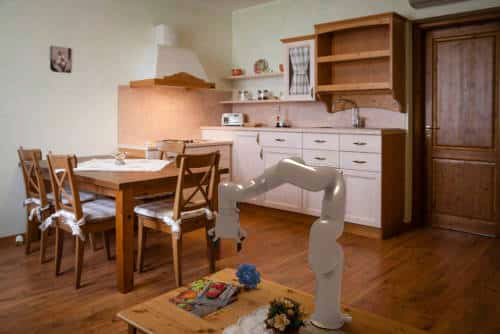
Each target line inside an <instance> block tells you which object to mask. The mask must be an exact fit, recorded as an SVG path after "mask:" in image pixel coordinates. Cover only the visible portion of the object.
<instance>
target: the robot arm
mask: <svg viewBox="0 0 500 334" xmlns="http://www.w3.org/2000/svg"><path fill="white" fill-rule="evenodd" d="M286 184H289V185H292V186H294V187H296V188H299V189H301V190H304V191H307V192H310V193H311V192H312V193H319V192H322V191H323V196H322V200H321V213H320V217H319V218H318V219H316V220H315V221H314V222H313V224H312V226H311V227H310V231H309V241H308V251H307V253H308V255H307V259H308V260H307V262H308V265H309V267H310V269H311V270H312V271H313V272H314V273H315V283H314V284H315V287H314V288H315V289H314V311H313V314H311V315H310V316H309V321H310V320H314V321H317V322H319V323H321V324H323V325H324V326H325V327H327V328H331V329H332V330H337V329H340V328H342V327H343V326H344V322H351V323H352V319H353V317H352V316H350V315H349V314H348V313H343V312H342V311H341V292H342V290H341V288H342V275H343V274H342V273H343V266H344V259H345V258H344V257H345V255H344V254H345V253H344V248H343V246H341V244H340V243H339V242H337V239H339V238H340V237H341V236H342V234H343V233H344V228H345V217H346V216H345V215H346V199H347V185H346V180H345V179H344V176H343V175H342V174H341V173H340V171H338V169H335V168H334V167H332V166H330V165H320V166H317V167H310V166H308V165H307V163H306V161H305V160H304V159H303V158H302V157H300V156H289V157H285V158H282V159H280V160H279V161H278V163H276V164H274V165H272V166H269V167H268V168H265V169H264V170H263V173H262V174H260V175H258V176H256V177H254V178H252V179H250V180H246V181H243V182H240V183H235V182H233V181H222V182H219V183H218V185H217V203H218V205H217V206H218V208H217V209H218V212H217V214H216V219H215V226H214V227H212V228H210V229H209V230H207V234H208V236H209V238H210V239H211V240H212V241H213V248H214V251H215V252H217V251H219V249H220V248H219V247H220V246H219V245H220V244H219V240H218V239H235V240H236V241H237V243H236V251H237V253H240V251H241V250H242V243H243V241H244V240H245V239H246V237H247V236H248V232H249V231H246V230H245V229H243V228H241V224H240V222H241V221H240V217H239V213H240V208H237V203H243V202H246V201H248V200H251V199H255V198H256V197H259V196H261V195H264V194H265V193H267V192H270V191H272V190H275V189H278V188H279V187H281V186H283V185H286ZM213 232H214V233H215V234H213ZM241 234H242V237H241V236H240V235H241Z"/></svg>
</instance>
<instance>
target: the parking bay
mask: <svg viewBox="0 0 500 334" xmlns="http://www.w3.org/2000/svg"><path fill="white" fill-rule="evenodd" d="M216 282H219V281H217V280H209V281H208V282H207V283H206V284H207V285H206V284H205V285H206V286H205V285H204V287H203V288H202V289H203V290H202V289H201V290H202V291H201V290H200V291H201V292H198V294H197V295H196V297H194V299H193V300H192V303H200V304H210V305H216V306H219V308H226V307H227V305H228V303H229V302H230V300H231V299H230V297H229V298H226V297H227V296H228V294H229V292H230V290H231V289H232V287H233V286H235V287H237V288H238V285H236V284H235V283H234V282H226V281H224V282H225V283H226V285H227V286H229V287H228V288H227V290H226V291H225V293H224V294H223V296H222V297H219V296H218V298H209V297H207V296H206V291H207V290H208V288H209V287H210V285H211V284H214V283H216ZM229 299H230V300H229ZM228 301H229V302H228ZM216 306H215V307H216Z"/></svg>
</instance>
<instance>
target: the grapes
mask: <svg viewBox="0 0 500 334" xmlns="http://www.w3.org/2000/svg"><path fill="white" fill-rule="evenodd" d="M236 269H237V271H235V276H236V278H238V279H237V281H238V283H239V285H243V286H244V288H245V289H250V288H252V289H256V288H257V287H258V285H259V284H261V283H262V281H261V278H260V277H261V272H260V271H259V270H257V268H256V266H255V265H254V264H250V265H249V263H248V262H243V263H242V265H240V264H239V265H237V267H236Z"/></svg>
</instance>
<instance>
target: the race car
mask: <svg viewBox="0 0 500 334" xmlns="http://www.w3.org/2000/svg"><path fill="white" fill-rule="evenodd" d="M225 282H226V281H218V282H216V283H214V284H213V285H212V286H211V287H209V288H210V289H209V290H208V291H207V292H206V296H207V297H209V298H218V296H220V295H221V294H222V293H223V292H224V291H225V290H226V289H227V285H226V283H225Z"/></svg>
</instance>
